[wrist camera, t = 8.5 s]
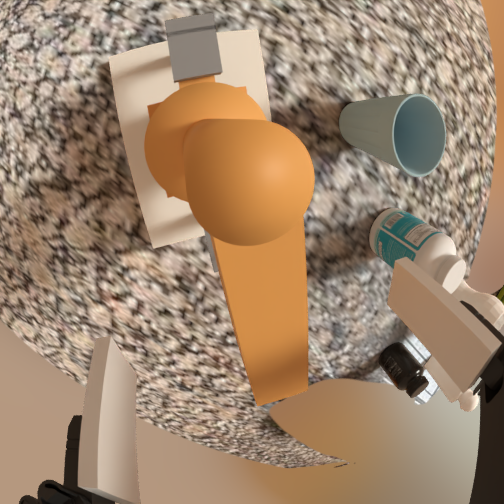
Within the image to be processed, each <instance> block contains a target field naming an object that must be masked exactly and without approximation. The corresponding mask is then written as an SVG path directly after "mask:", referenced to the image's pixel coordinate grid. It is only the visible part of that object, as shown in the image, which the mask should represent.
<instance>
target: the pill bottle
mask: <svg viewBox="0 0 504 504" xmlns="http://www.w3.org/2000/svg"><path fill="white" fill-rule="evenodd" d="M369 242H370V246H371V249H372V251H373V252H374V253H375V254H376V255H377V256H379V257H380V258H381V259H382V260H383V261H385V262H386V263H387V264H388V265H390V266H391V267H392V268H393V269H394V264H395V260H398V259H401V258H404V257H408V258H409V259H410V260H411V261H413V262H414V263H415V264H416V265H417V266H419V267H420V268H421V269H422V270H424V271H425V272H426V273H427V274H428V275H430V276H431V277H432V278H433V279H434V280H435V281H437V282H438V283H439V284H440V285H441V286H442V287H444V288H445V289H446V290H447V291H448V292H449V293H450V294H451V293H453V292H454V291H455V290H456V289H457V287H458V286H459V284H460V283H461V281H462V279H463V277H464V274H465V270H466V263H465V261H464V260H463V259H461V258H460V257H458V256H456V248H455V244H454V242H453V241H452V239H451V238H450V237H448V236H447V235H445V234H444V233H442V232H440V231H439V230H437V229H435V228H434V227H432V226H430V225H429V224H427V223H425V222H423V221H422V220H420V219H418V218H416V217H414V216H413V215H411V214H409V213H407V212H405V211H403V210H401V209H399V208H390V209H387V210H385V211H383V212H382V213H381V214H380V215H379V216H378V217H377V218H376V220H375V221H374V223H373V225H372V227H371V230H370V235H369Z"/></svg>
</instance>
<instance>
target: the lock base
mask: <svg viewBox="0 0 504 504" xmlns="http://www.w3.org/2000/svg"><path fill="white" fill-rule="evenodd" d="M165 26H166V33H167V40H168V41H165V42H160V43H156V44H152V45H148V46H144V47H140V48H137V49H133V50H130V51H127V52H123V53H120V54H117V55H114V56H111V57H109V64H110V71H111V78H112V84H113V90H114V96H115V102H116V107H117V113H118V118H119V123H120V128H121V132H122V137H123V141H124V146H125V150H126V154H127V159H128V163H129V167H130V171H131V175H132V178H133V182H134V186H135V190H136V193H137V197H138V200H139V204H140V207H141V211H142V214H143V217H144V221H145V224H146V227H147V230H148V234H149V237H150V240H151V243H152V246H153V248H157V247H161V246H165V245H168V244H172V243H176V242H180V241H184V240H188V239H192V238H196V237H200V236H204V235H205V237H206V241H207V245H208V249H209V253H210V257H211V261H212V265H213V269H214V272H218V271H219V270H218V266H217V262H216V258H215V254H214V250H213V246H212V241H211V237H210V234H209V233H208V232H207V231H205V230H204V229H203V228H202V226H201V225H200V224H199V223H198V222H197V220H196V219H195V217H194V215H193V213H192V211H191V209H190V206H189V203H188V202H186V201H183V200H180V199H178V198H176V197H174V196H173V197H170V198H167V194H166V191H165V190H164V189H163V188H162V187H161V186H160V185H159V184H158V183H157V182H156V180H155V179H154V177H153V176H152V174H151V172H150V170H149V168H148V165H147V162H146V158H145V152H144V140H145V133H146V129H147V126H148V123H149V121H150V119H149V114H148V108H147V106H148V105H151V104H155V103H159V102H163V101H164V100H165V99H166V98H167V97H168V96H170V95H171V94H172V93H174V92H176V91H177V90H179V83H178V82H181V81H186V80H191V79H196V78H202V77H208V76H215V82H218V83H224V84H228V85H231V86H234V87H243V86H246V89H247V94H248V95H249V96H250V97H251V98H253V100H254V101H255V102H256V103H257V104H258V105H259V107H260V108H261V109H262V111H263V113H264V115H265V117H266V119H267V121H270V122H272V120H271V112H270V105H269V98H268V91H267V85H266V78H265V72H264V65H263V59H262V53H261V47H260V41H259V35H258V29H256V30H239V31H228V32H218V33H216V28H215V21H214V15H213V13H209V14H202V15H195V16H188V17H182V18H177V19H171V20H166V21H165Z"/></svg>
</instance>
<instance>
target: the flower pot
mask: <svg viewBox="0 0 504 504" xmlns="http://www.w3.org/2000/svg"><path fill="white" fill-rule="evenodd" d="M496 298H498V299H499V300H500V301H501V302H502V304H503V305H504V285H503V287H502V289H501V291H500V292H499V294H498V296H497V297H496Z"/></svg>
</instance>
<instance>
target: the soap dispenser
mask: <svg viewBox="0 0 504 504" xmlns="http://www.w3.org/2000/svg"><path fill="white" fill-rule="evenodd" d="M424 367H425V368H426V369H427V371H428V372H429V373H430V375H431V376H432V378H433V379H434V380H435V382H436V383H437V384H438V386H439V387H440V389H441V390H442V391H443V393H444V394H445V396H446V397H447V399H448V400H449V401H450V402H454V401H456V400H459V402H460V408H461V409H463V410H464V411H467V412H468V411H472V410H473V409H475V408H476V406H477V405H478V401H479V399H478V395H477V393H476V394H475V395H473V391H471V390H470V389H468V390H467V391H466V392H465V393H462V391H461V390H460V389H459V388H458V386H457V385H456V384H455V383H454V381H453V380H452V379H451V378H450V376H449V375H448V374H447V373H446V371H445V370H444V369H443V368H442V366H441V365H440V364H439V363H438V362H437V360H436V359H435V358H434V357H433V356H431V357H430V359H429V360H428V361H427V362H426V364H425V365H424Z"/></svg>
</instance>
